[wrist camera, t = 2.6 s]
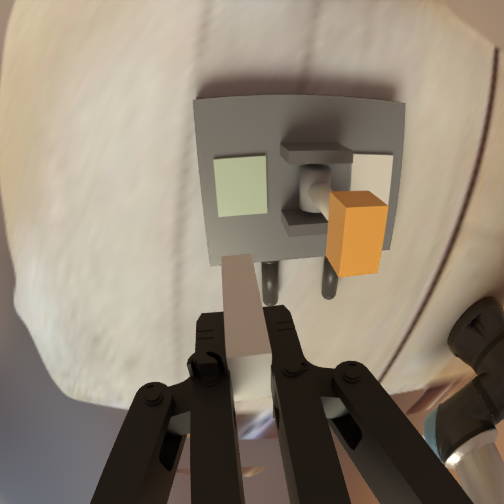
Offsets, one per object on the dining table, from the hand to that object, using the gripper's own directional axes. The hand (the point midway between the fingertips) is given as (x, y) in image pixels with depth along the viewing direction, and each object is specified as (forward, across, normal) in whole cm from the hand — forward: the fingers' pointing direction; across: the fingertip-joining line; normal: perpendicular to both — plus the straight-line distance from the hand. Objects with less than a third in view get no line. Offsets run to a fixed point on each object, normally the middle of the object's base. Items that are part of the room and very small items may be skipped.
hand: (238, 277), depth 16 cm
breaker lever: (+16, -8, 0) cm, 18 cm away
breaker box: (+19, -8, +4) cm, 21 cm away
